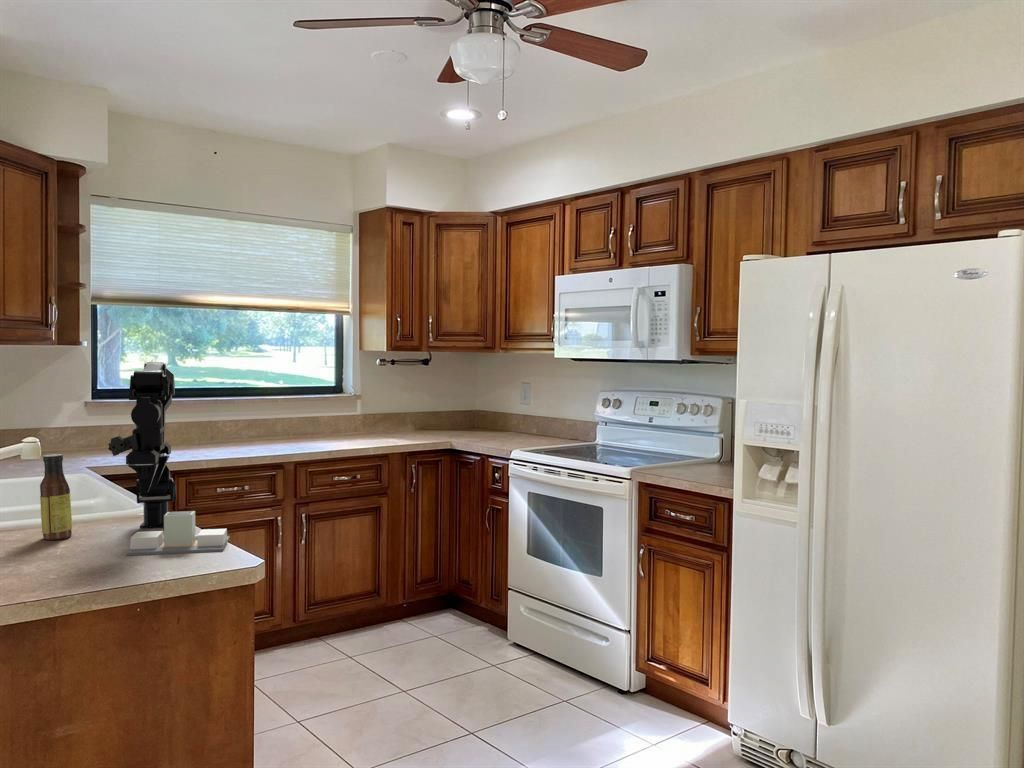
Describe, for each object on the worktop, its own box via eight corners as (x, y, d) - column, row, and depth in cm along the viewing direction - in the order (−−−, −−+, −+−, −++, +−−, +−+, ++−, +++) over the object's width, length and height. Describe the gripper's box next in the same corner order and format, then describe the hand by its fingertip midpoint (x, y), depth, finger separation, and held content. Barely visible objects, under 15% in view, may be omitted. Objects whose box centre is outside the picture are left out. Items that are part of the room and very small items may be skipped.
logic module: (167, 542, 182) (167, 511, 182) (195, 540, 184) (195, 510, 183) (164, 546, 179) (163, 515, 178) (192, 545, 180) (192, 514, 180)
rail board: (139, 542, 185) (139, 529, 185) (229, 538, 189) (229, 525, 189) (126, 555, 173) (126, 541, 173) (222, 551, 178) (222, 537, 177)
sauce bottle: (77, 534, 191) (76, 453, 190) (63, 541, 185) (62, 456, 184) (49, 534, 191) (48, 452, 190) (35, 540, 185) (33, 456, 184)
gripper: (122, 420, 193) (123, 483, 194) (100, 428, 175) (101, 498, 176) (171, 419, 196) (171, 482, 196) (154, 427, 177) (155, 496, 178)
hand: (149, 489), depth 187 cm, fingers open, 9 cm apart
